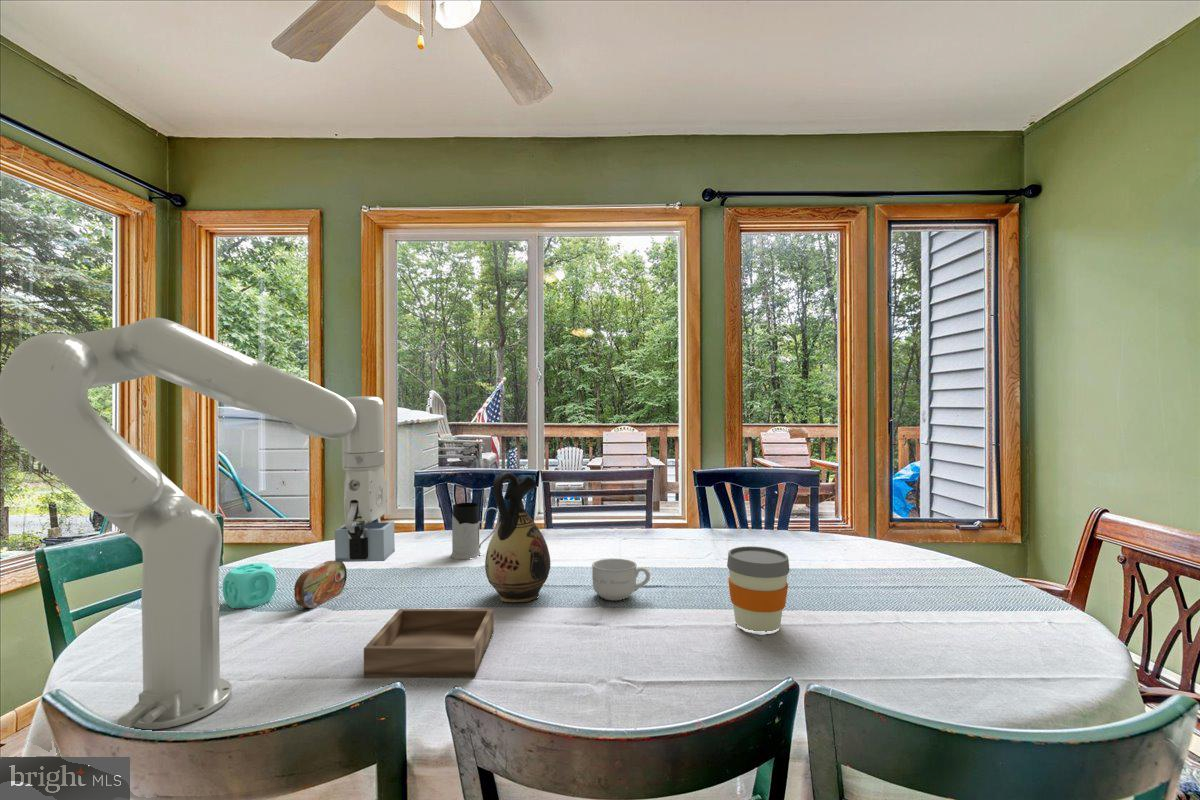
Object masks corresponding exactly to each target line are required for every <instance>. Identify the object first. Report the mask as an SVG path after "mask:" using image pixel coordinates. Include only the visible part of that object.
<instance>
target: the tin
mask: <svg viewBox="0 0 1200 800" xmlns="http://www.w3.org/2000/svg"><path fill="white" fill-rule="evenodd" d="M347 577H348V572H347V568H346V565H345V562H335V560H326V561H324V562H323V563H320V564H318V565H316V566H314V567H311V568H310V569H307V570H305V571H303V572H302V573H300V575H299V576H298V578H297V579H296V582H295V584H294V587H293V588H294V590H293V591H294V592H293V593H294V600H295V603H296V604H297V606H299V607H300V608H306V609H315V608H318V607H319V606H321V605H323V604H325V603H326V602H328V601H329V600H331V599H333V598H335V597H337V596H338V595H339V594H340V593H341V592H342V591H343V590H344V588H345V586H346V583H347V582H346V581H347Z"/></svg>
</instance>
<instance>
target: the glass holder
mask: <svg viewBox="0 0 1200 800" xmlns="http://www.w3.org/2000/svg"><path fill="white" fill-rule="evenodd" d="M479 505H480V504H479V503H476V502H460V503H459V502H458V503H455V504H453V505H452V513H451V516H452V517H451V521H452V523H451V526H452V528H451V530H452V532H451V534H452V535H451V536H452V537H451V538H452V539H451V540H452V541H451V542H452V546H451V547H452V548H451V549H452V552H451V554H450V558H451V557H452V558H451V559H453V558H455V559H454V560H457V559H468V560H471V559H470V558H474V559H476V558H475V557H477V556H479V555H480V554H481V555H482V553H481V551H480V549H481V547H482V544H484V543H485V542H486V541H487V540H488V539H489V538H490V537H492V536H493V534H494V532H495V531H496V529H497V527H498V525H499V523H500V522H499V521H500V513H499V511H498V508H495V507H489V508H486V510H485V511H484V515H483V520H482V521H480V518H479V517H480V514H479V513H480V512H479V510H480V506H479ZM489 510H494V511H496V512H497V521H496V524H495V527H494V529H493V530H492V532H491V533H490V534H489V535H488V536H487V537H485V538H484V539H483V540H482V541H481V542H480V524H483V523H484V522H486V516H487V513H488V511H489ZM479 557H480V556H479ZM477 558H478V557H477Z"/></svg>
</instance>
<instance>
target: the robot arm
mask: <svg viewBox="0 0 1200 800" xmlns="http://www.w3.org/2000/svg"><path fill="white" fill-rule="evenodd" d="M149 376H155V377H158V378H159V379H161V380H162V379H163V380H164V381H167V382H170V383H172V384H175V385H177V386H180V387H182V388H185V389H188V390H190V391H192V392H195V393H196V394H200V395H202V396H205V397H207V398H210V399H212V400H215V401H216V402H219V403H221V404H224V405H226V406H227V405H228V406H230V407H234V408H237V409H240V410H245V411H249V412H255V413H260V414H263V415H267V416H271V417H273V418H277V419H280V420H281V421H285V422H288V423H290V424H292V425H293V426H294V427H295V428H296V430H298V431H299V432H300V433H301V434H304V435H305V436H309V437H312V438H313V437H315V438H322V439H327V440H337V439H341V449H342V456H341V457H342V462H341V463H342V470H343V471H345V473H344V474H345V475H344V484H343V485H344V487H343V515H344V521H345V522H344V523H345V526H346V528H347V530H348V533H349V535H348V538H349V550H350V559H351V560H358V559H367V558H368V537H366V529H367V522H368V523H371V522H382V521H381V517H382V516H383V515H385V514H386V512H387V511H388V495H387V483H386V482H387V481H386V475H385V469H384V468H386V454H385V453H386V452H385V451H386V450H385V445H386V444H385V441H386V440H385V405H384V404H385V403H384V401H383V399H382V398H381V397H379V396H374V395H373V396H370V395H368V396H365V395H361V396H348V397H343V396H341V395H339V394H338V393H335V392H333V391H331V390H329V389H327V388H324V387H322V386H320V385H318V384H316V383H314V382H312V381H309V380H308V379H307V380H306V379H305V378H302V377H300V376H297V375H295V374H292V373H290V372H287V371H285V370H282V369H279V368H278V367H275V366H273V365H271V364H268V363H266V362H263V361H261V360H258V359H256V358H254V357H250V356H249V355H247V354H245V353H243V352H240V351H237V350H236V349H233V348H231V347H229V346H227V345H225V344H223V343H220V342H218V341H216V340H214V339H212V338H211V337H208V336H206V335H204V334H202V333H200V332H197V331H195V330H193V329H191V328H188V327H187V326H184V325H182V324H181V323H178V322H176V321H173V320H170V319H167V318H163V317H146V318H143V319H139V320H137V321H135V322H133V323H129V324H125V325H120V326H115V327H109V328H105V329H98V330H93V331H86V332H80V333H79V332H78V333H72V334H66V333H58V332H57V333H56V332H55V333H54V332H52V333H51V332H49V333H41V334H36V335H34V336H31V337H29V338H27V339H25V340H23V341H22V342H21V343H20V344H18V345H17V347H15V349H14V350H13V351H12V353H11V354H10V356H8V358H7V360H6V362H5V364H4V365H3V368H2V370H1V372H0V420H1V422H2V424H3V425H4V428H5V429H6V430H7V432H8V433H9V434H10V436H12V438H13V439H14V440H15V441H16V442H17V443H18V444H19V445H20V446H21V447H22V448H23V449H24V450H26V452H28V453H29V455H31V456H32V457H34V459H36V460H37V461H38V462H39V463H40V464H42V466H44V468H45V469H47V470H48V471H49V472H50V473H51V474H52V475H54V476H55V477H56V478H57V479H58V480H60V481H61V482H62V483H63V484H64V485H66V486H67V487H68V488H69V489H71V491H73V492H74V493H75V494H76V495H77V496H78V497H79V499H80V500H81V501H82V502H83V504H85V506H87V507H88V508H89V509H91V510H92V511H94V512H96V513H98V514H100V515H101V516H102V517H104V519H106V520H107V521H108V522H110V523H111V524H112V525H113V526H114V527H116V528H117V529H118V530H120V531H121V532H122V533H124V534H125V535H126V536H127V537H128V538H129V539H131V540H132V541H133V542H135V543H136V544H137V545H138V546H139V548H140V549H141V553H142V575H141V577H142V578H141V621H142V622H141V631H142V632H141V638H142V641H141V642H142V646H141V647H142V691H141V692H140V693H139V694H138V702H137V703H136V704H134V705H133V707H132V708H131V709H130V710H129V712H127V713H125V714H123V715H122V716H121V717H119V718H118V719H117V722H116V725H117V724H118V725H121V726H124V727H130V728H132V727H135V728H137V729H142V730H161V729H168V728H173V727H177V726H181V725H186V724H187V723H191V722H193V721H196V720H200V719H202V718H203V717H205V716H208V715H209V714H212V713H213V712H215V711H216V710H218V709H220V708H221V707H222V706H224V704H225V703H227V702H228V700H229V699H230V698H231V696H232V692H233V691H232V689H233V688H232V684H231V682H230V681H229V680H226V679H224V678H221V661H220V660H221V659H220V655H221V654H220V653H221V651H220V647H221V646H220V596H219V595H220V594H219V593H220V591H219V589H220V588H219V587H220V586H219V585H220V584H219V581H220V579H219V578H220V575H219V574H220V562H221V556H222V555H221V553H222V546H223V545H222V543H223V542H222V541H223V535H222V529H221V528H222V527H221V525H220V522H219V521H218V519H217V517H216V516H215V514H214V513H212V512H211V511H210V510H209V509H208V508H206V507H205V506H203V505H201V504H200V503H198V502H196V501H195V500H194V499H192V498H191V497H190V496H189V495H188V494H186V493H185V492H184V491H183V490H182V489H181V488H179V487H178V486H177V484H175V483H174V482H173V481H172V480H171V479H170V478H168V476H166V475H165V474H164V473H163V472H162V471H161V469H160V468H159V466H158V464H157V463H155V461H153V460H152V458H150V457H148V456H147V455H145V454H143V453H142V452H140V451H138V450H137V449H136V448H135V447H134V446H133V445H132V444H130V443H129V442H128V441H127V440H126V439H125V438H124V437H123V436H121V435H120V434H119V433H118V432H117V431H116V430H115V429H114V428H113V427H112V426H111V425H110V424H109V423H108V422H107V421H106V420H105V419H104V418H103V417H102V416H101V415H100V414H99V413H98V412H97V411H96V410H95V409H94V407H93V406H92V404H91V403H90V400H89V395H88V390H91V389H95V388H96V389H97V388H100V387H105V386H109V385H114V384H120V383H124V382H128V381H133V380H137V379H141V378H145V377H149ZM358 519H362V520H358ZM356 525H362V527H361V529H360V528H359V526H356Z"/></svg>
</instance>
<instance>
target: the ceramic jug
mask: <svg viewBox="0 0 1200 800" xmlns="http://www.w3.org/2000/svg"><path fill="white" fill-rule="evenodd" d="M507 481H508V482H509V487H508V489H507V491H506V494H505V496H504V494H503V491H502V487H503V486H502V485H503V484H504V483H505V482H507ZM537 486H538V485H537V482H536V480H534V478H532V477H530V476H527V475H526V476H525V477H521V476H518V477H517V476H516V475H515V474H513V473H512V472H510V471H509V472H507V471H503V472H500V473H498V474H496V476H495V477H494V479H493V484H492V491H493V497H494V499H495V503H496V505H497V510H498V512H499V520H500V522H499V523H498V526H497V528H496V530H495V532H494V533H493V534H492V535H491V539H490V541H489V543H488V546H487V549H486V553H485V554H486V555H485V559H484V561H485V562H484V570H485V575H486V578H487V581H488V583H489V584H490V585H491V587H492V588H494V590H495V591H496V592H497V594H498V595H499V599H500V601H501V600H502V601H501V602H503V601H504V602H503V603H527V602H528V603H529V602H531V600H532V601H534V599H535V600H537V599H536V598H537V597H538V596H539V597H540V595H539V593H540V591H541V590H542V587H543V585H544V584H545V583H546V582H547V579H548V578H549V573H550V572H551V571H550V570H551V556H550V551H549V547H548V544H547V541H546V539H545V537H544V536H543V533H542V531H541V530H540V529H539V527H538V525H537V524H536V522H535V521H534V520H533V518H532V517H531V516H530V515H529V514H528V512H527V510H526V508H525V506H524V503H523V498H524V497H525V496H526V495H527V494H528V493H530V492H531V491H532V490H534V489H535V488H536V487H537ZM506 500H507V501H509V502H508V507H507V506H506V505H507V504H506Z"/></svg>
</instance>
